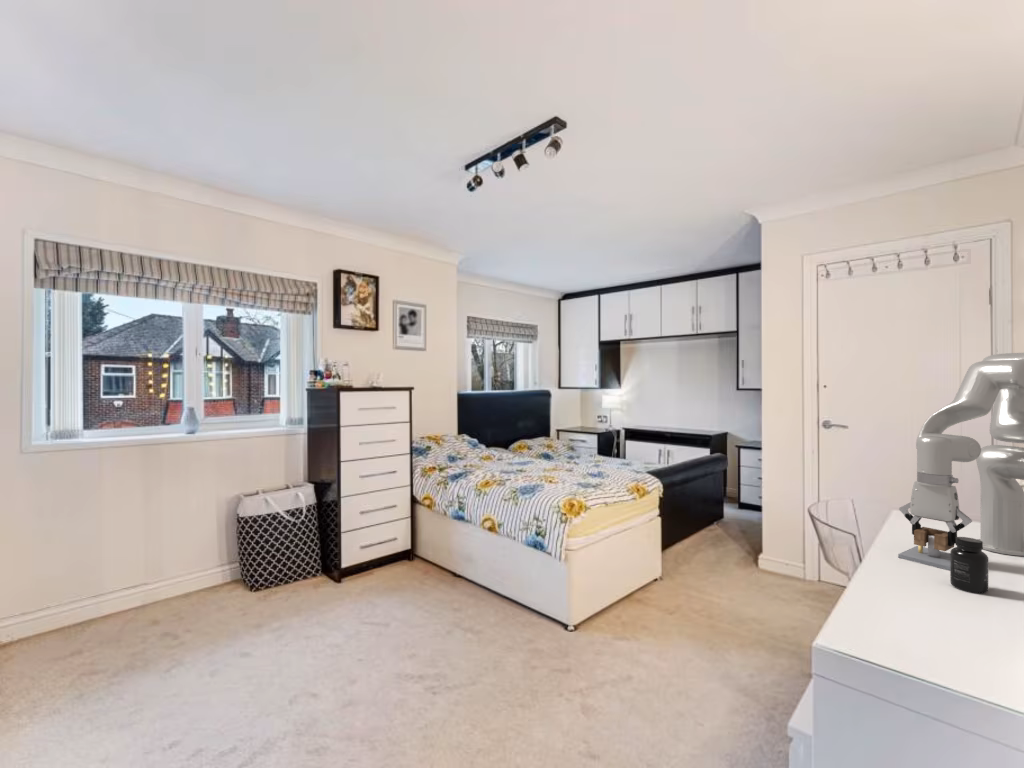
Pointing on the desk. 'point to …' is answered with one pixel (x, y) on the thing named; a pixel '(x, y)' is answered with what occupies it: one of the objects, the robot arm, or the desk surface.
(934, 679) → the desk surface
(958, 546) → the supplement bottle
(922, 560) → the post base
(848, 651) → the desk surface
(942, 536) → the wooden arch block
